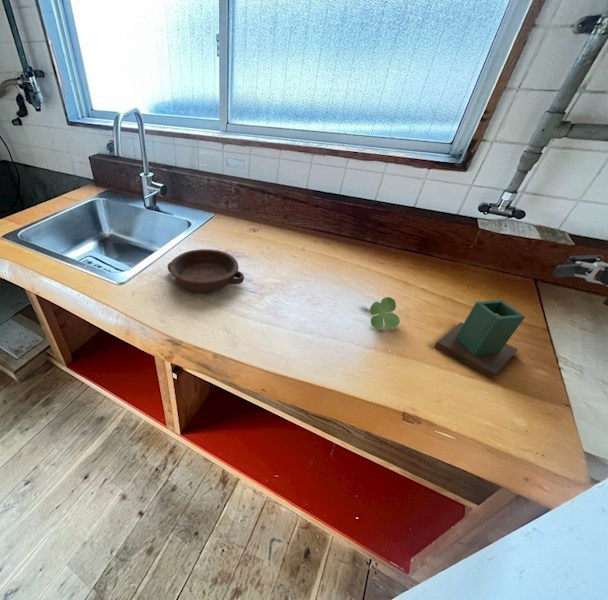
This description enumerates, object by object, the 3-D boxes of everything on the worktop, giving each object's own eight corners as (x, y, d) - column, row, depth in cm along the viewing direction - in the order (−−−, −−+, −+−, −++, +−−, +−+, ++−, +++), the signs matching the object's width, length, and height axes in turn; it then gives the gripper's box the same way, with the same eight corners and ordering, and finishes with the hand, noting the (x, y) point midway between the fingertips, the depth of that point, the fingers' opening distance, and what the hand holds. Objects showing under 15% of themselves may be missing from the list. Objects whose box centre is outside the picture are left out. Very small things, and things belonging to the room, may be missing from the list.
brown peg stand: (514, 354, 62) (542, 317, 57) (491, 378, 58) (519, 341, 52) (457, 327, 69) (478, 291, 63) (433, 347, 65) (453, 310, 59)
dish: (233, 305, 78) (234, 289, 75) (153, 290, 84) (150, 274, 81) (251, 269, 91) (252, 254, 88) (180, 258, 97) (179, 243, 94)
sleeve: (478, 335, 65) (501, 299, 59) (499, 353, 61) (525, 316, 55) (455, 337, 64) (476, 301, 59) (474, 355, 60) (498, 319, 55)
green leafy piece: (369, 333, 75) (389, 338, 69) (345, 313, 74) (363, 317, 68) (387, 308, 76) (408, 311, 69) (363, 288, 74) (382, 289, 68)
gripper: (635, 239, 58) (553, 245, 57) (750, 281, 47) (649, 290, 46) (606, 274, 63) (529, 280, 62) (704, 320, 51) (611, 330, 50)
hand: (580, 285), depth 54 cm, fingers open, 8 cm apart
